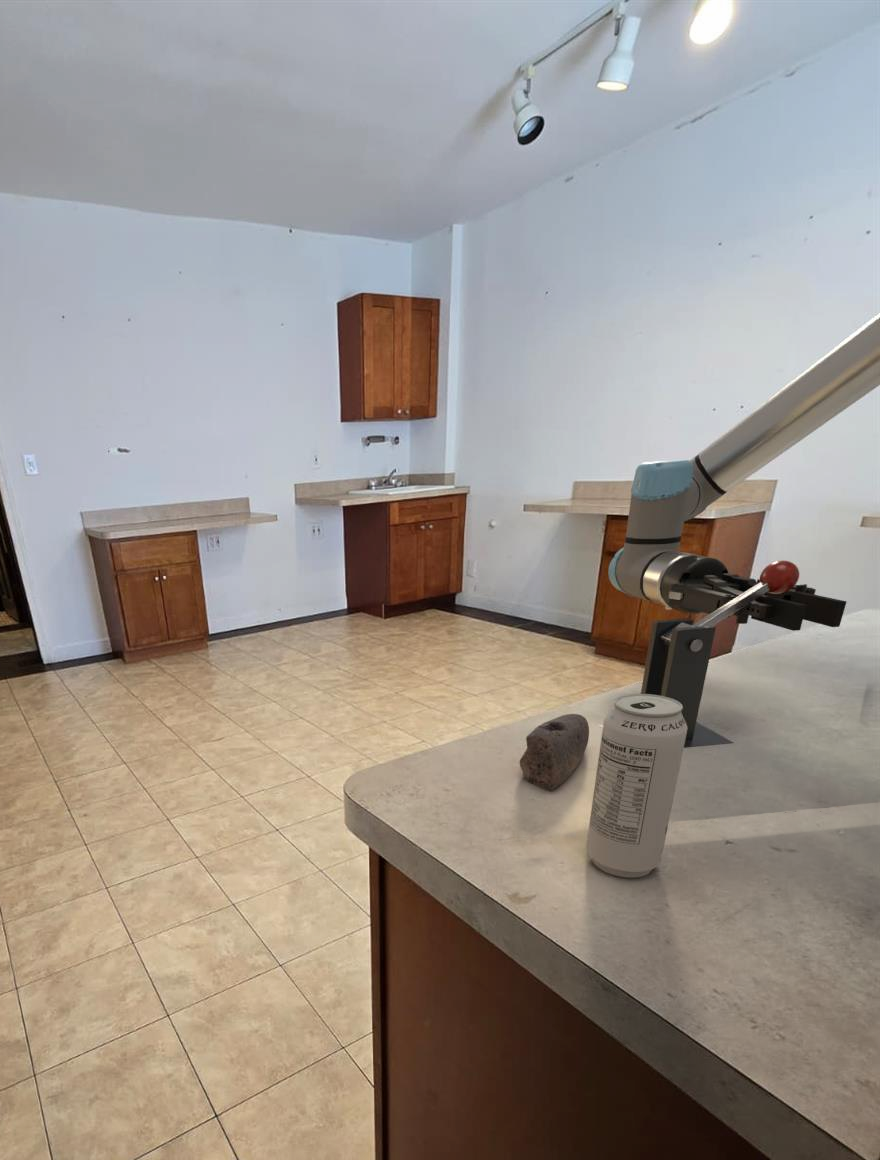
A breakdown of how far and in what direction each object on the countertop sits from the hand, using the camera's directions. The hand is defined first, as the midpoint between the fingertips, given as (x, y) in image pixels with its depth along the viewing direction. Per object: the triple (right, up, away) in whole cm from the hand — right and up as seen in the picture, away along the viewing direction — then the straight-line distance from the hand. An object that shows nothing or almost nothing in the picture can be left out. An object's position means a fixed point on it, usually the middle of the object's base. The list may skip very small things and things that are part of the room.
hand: (819, 616), depth 68 cm
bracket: (-11, -13, +11) cm, 20 cm away
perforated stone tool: (-26, -17, +5) cm, 32 cm away
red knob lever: (-6, +1, +5) cm, 8 cm away
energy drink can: (-27, -25, -11) cm, 38 cm away
